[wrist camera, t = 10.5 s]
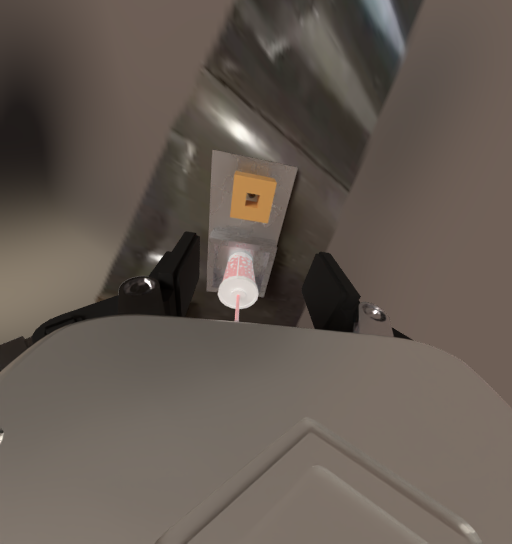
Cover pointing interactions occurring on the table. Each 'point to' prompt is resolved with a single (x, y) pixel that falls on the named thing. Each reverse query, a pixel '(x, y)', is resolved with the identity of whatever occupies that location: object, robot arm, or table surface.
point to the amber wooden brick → (254, 186)
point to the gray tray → (238, 232)
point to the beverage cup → (238, 283)
